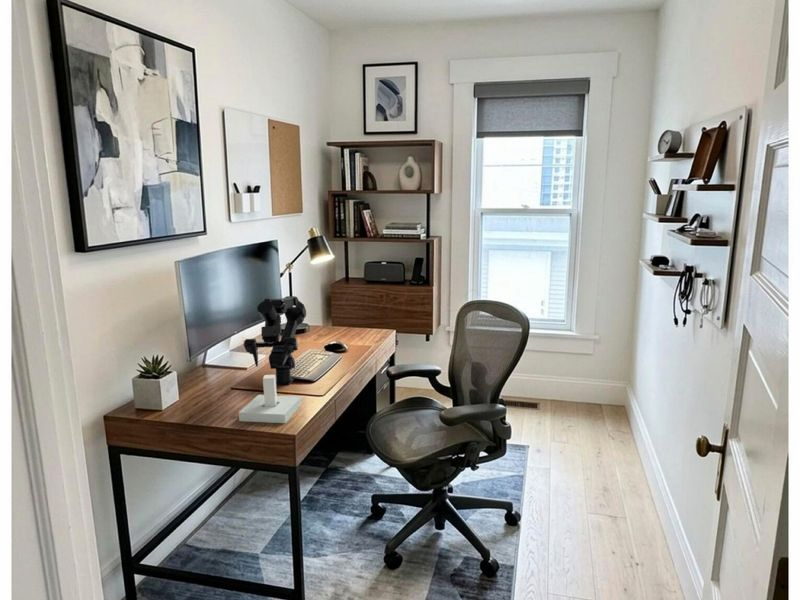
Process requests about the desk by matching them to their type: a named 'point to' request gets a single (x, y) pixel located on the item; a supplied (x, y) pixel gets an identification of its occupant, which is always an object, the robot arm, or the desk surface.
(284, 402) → the socket
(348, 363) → the desk surface
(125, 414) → the desk surface
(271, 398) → the plug
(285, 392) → the desk surface
